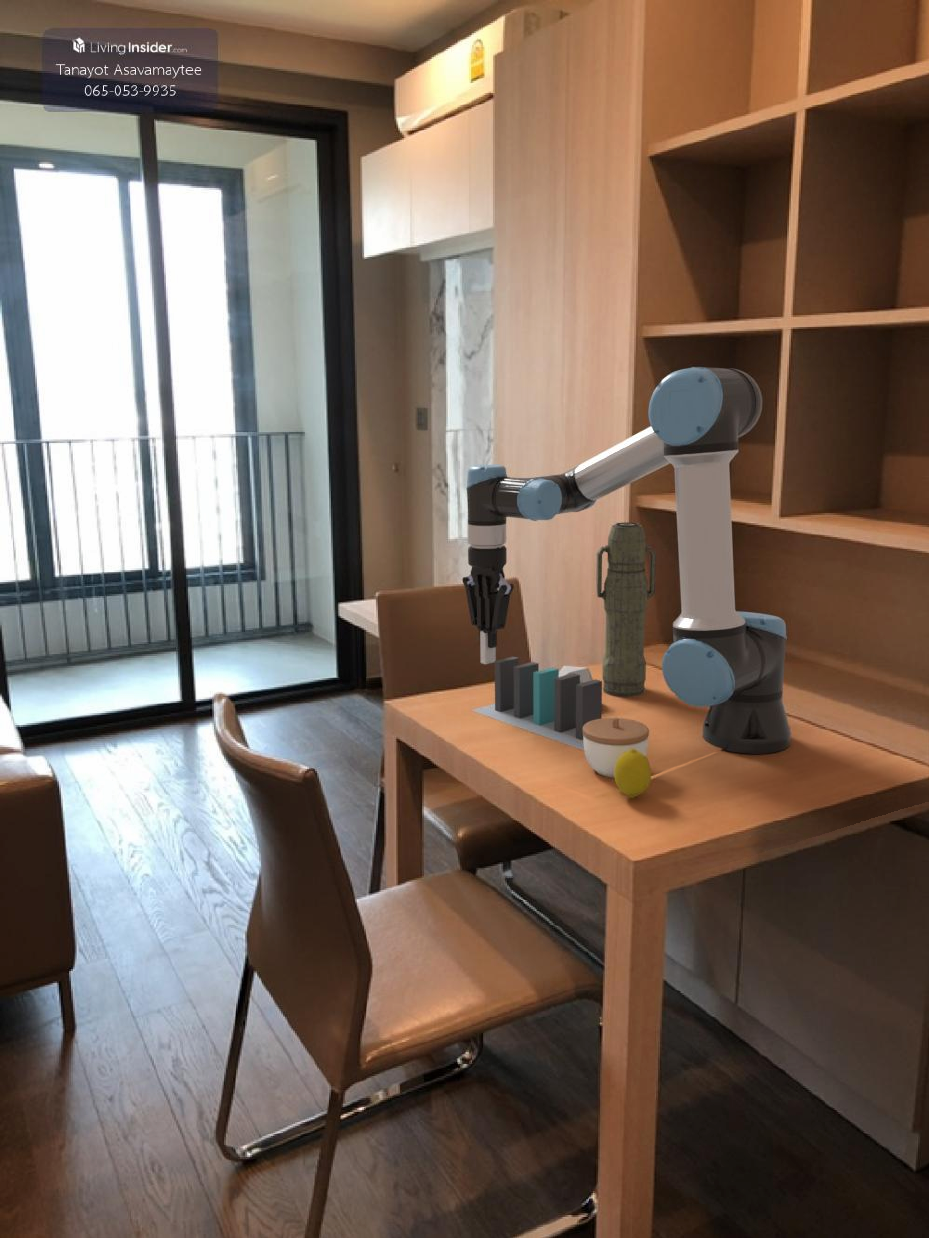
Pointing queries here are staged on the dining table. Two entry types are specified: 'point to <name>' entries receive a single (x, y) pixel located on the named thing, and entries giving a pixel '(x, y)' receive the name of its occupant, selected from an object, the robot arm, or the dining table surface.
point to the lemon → (632, 773)
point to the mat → (532, 726)
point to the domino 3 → (565, 702)
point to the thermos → (625, 608)
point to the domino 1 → (505, 683)
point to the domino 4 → (588, 704)
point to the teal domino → (544, 695)
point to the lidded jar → (612, 741)
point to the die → (577, 672)
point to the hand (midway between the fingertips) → (488, 662)
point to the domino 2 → (524, 689)
